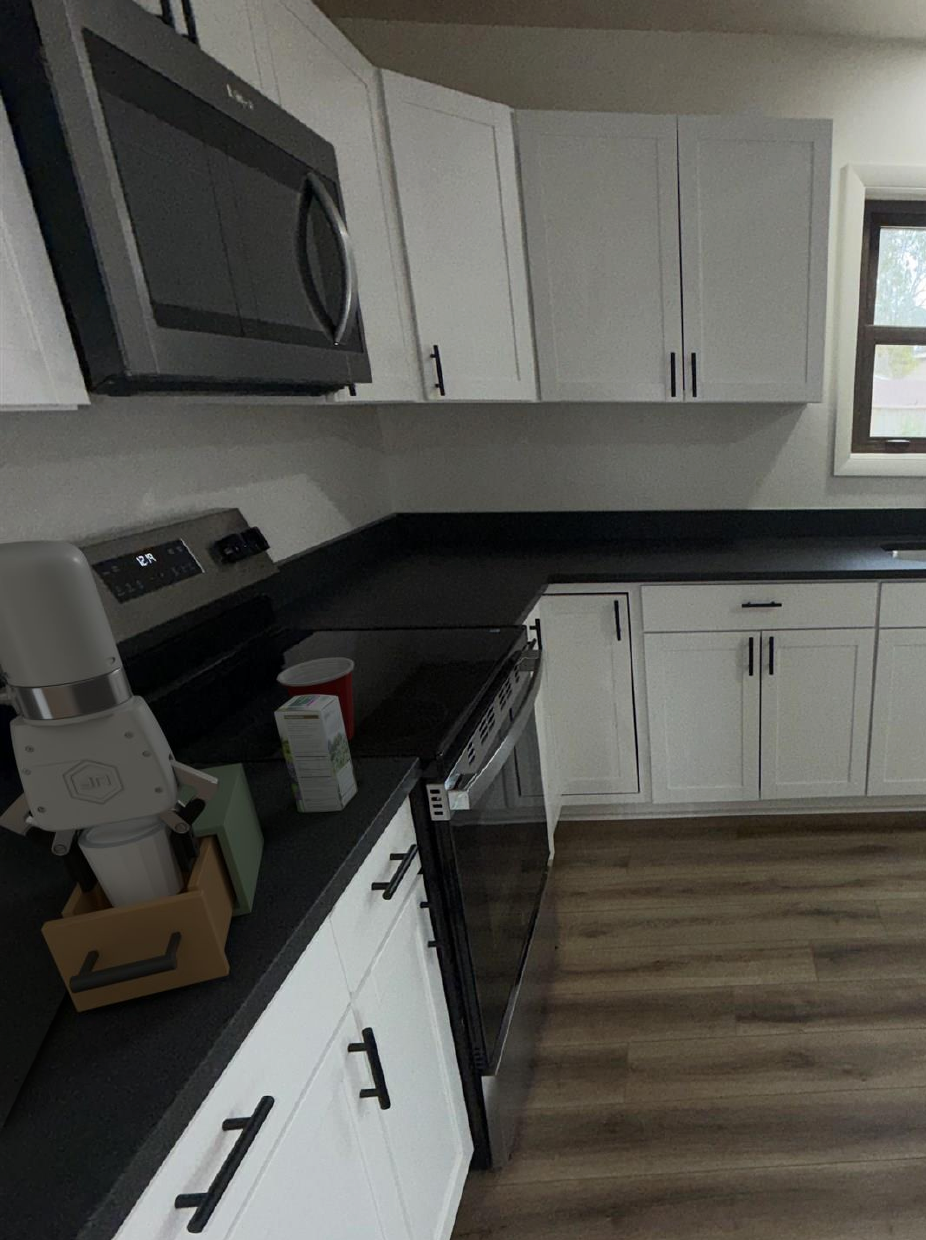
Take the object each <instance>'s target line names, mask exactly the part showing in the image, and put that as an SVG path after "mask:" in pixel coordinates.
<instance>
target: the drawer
mask: <svg viewBox="0 0 926 1240" xmlns="http://www.w3.org/2000/svg"><path fill="white" fill-rule="evenodd" d="M196 839H197V842H198V845H199V849H200V855H199V857H197V858H195V860H194V863H193V866H192V869H191V871H189V872H183V871H182V872H181V874H182V878H183V883H184V886H183V888H182V889H181V890H180V892H179V893H177V894H176V895H173V896H168V897H164V898H159V899H154V900H149V901H144V902H140V903H135V904H130V905H125V906H120V907H116V908H115V907H113V906H112V904H111V903H110V901H109V899H108V897H107V895H106V893H105V892H104V890H103V888H102V886H101V884H100V883H99V881H97V883H96V885H95V887H94V889H92V890H91V891H89V892H84V893H83V892H82V890H81V887H80V885H79V883H78V882H77V884H76V886H75V888H74V890H73V891H72V893H71V895H70V897H69V899H68V901H67V902H66V904H65V906H64V907H63V910H62V911H61V916H62V918H58V919H54V920H48V921H45V922H44V923H43V926H42V927H41V929H40V931H41V933H42V935H43V938H44V940H45V942H46V944H47V946H48V949H49V951H50V953H51V955H52V958H53V960H54V962H55V964H56V967H57V969H58V971H59V973H60V976H61V978H62V980H63V982H64V985H65V987H66V989H67V991H68V994H69V996H70V998H71V1000H72V1002H73V1004H74V1007H75V1009H76V1012H77V1013H80V1012H84V1011H87V1010H92V1009H96V1008H100V1007H104V1006H110V1005H112V1004H117V1003H120V1002H125V1001H128V1000H132V999H136V998H140V997H145V996H148V995H152V994H157V993H162V992H167V991H169V990H173V989H178V988H181V987H186V986H190V985H194V984H199V983H202V982H206V981H210V980H214V979H219V978H223V977H227V976H228V975H229V973H230V968H231V967H230V964H229V962H228V958H227V956H226V952H225V947H226V943H227V939H228V935H229V929H230V925H231V921H232V917H231V916H232V912H233V907H234V903H235V898H236V893H235V890H234V886H233V883H232V880H231V877H230V874H229V871H228V868H227V864H226V861H225V858H224V855H223V852H222V849H221V846H220V842H219V839H218V836H217V834H213V835H207V836H202V837H196Z"/></svg>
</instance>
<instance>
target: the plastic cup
mask: <svg viewBox="0 0 926 1240" xmlns="http://www.w3.org/2000/svg"><path fill="white" fill-rule="evenodd" d="M354 666H355V661H354V660H352V659H350V658H347V657H340V656H339V657H324V658H317V659H311V660H309V661H305V662H301V663H298V664H295V665H293V666H290V667H288V668H286V669H284V670H282V671H281V672H280V673H279V674H277V678H276V681H278V683H280V684H281V685H282V686H283V687H284V688H285V690H286V691H287V693H288V694H289V696H290V697H291V699H292V698H293V697H294V696H301V695H332V696H337V697H338V699H339V704H340V709H341V713H342V718H343V723H344V727H345V732H346V737H347V741H350V740H352V739H353V738H354V731H355V730H354V728H355V727H354V695H353V670H354Z"/></svg>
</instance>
